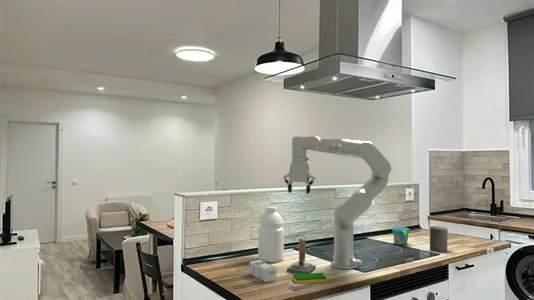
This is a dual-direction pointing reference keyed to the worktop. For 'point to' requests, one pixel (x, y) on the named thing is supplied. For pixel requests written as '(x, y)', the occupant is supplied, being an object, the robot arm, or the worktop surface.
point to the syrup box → (263, 270)
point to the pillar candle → (438, 238)
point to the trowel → (302, 257)
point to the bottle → (271, 236)
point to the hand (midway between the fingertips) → (298, 193)
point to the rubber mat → (301, 271)
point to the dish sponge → (309, 278)
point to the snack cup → (400, 235)
